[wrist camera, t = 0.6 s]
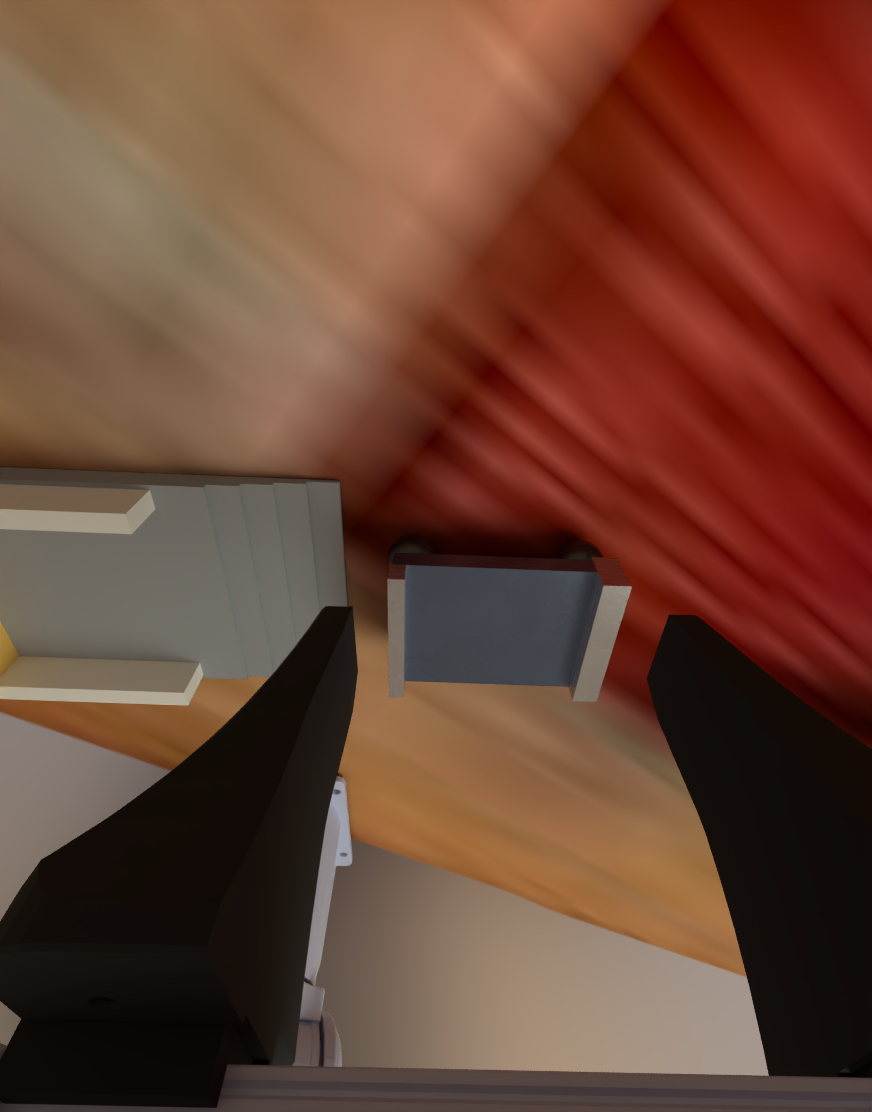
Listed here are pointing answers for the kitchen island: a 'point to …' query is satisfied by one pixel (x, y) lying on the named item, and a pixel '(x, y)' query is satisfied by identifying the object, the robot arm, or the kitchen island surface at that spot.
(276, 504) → the loading dock
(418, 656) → the trolley
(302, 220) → the kitchen island surface
